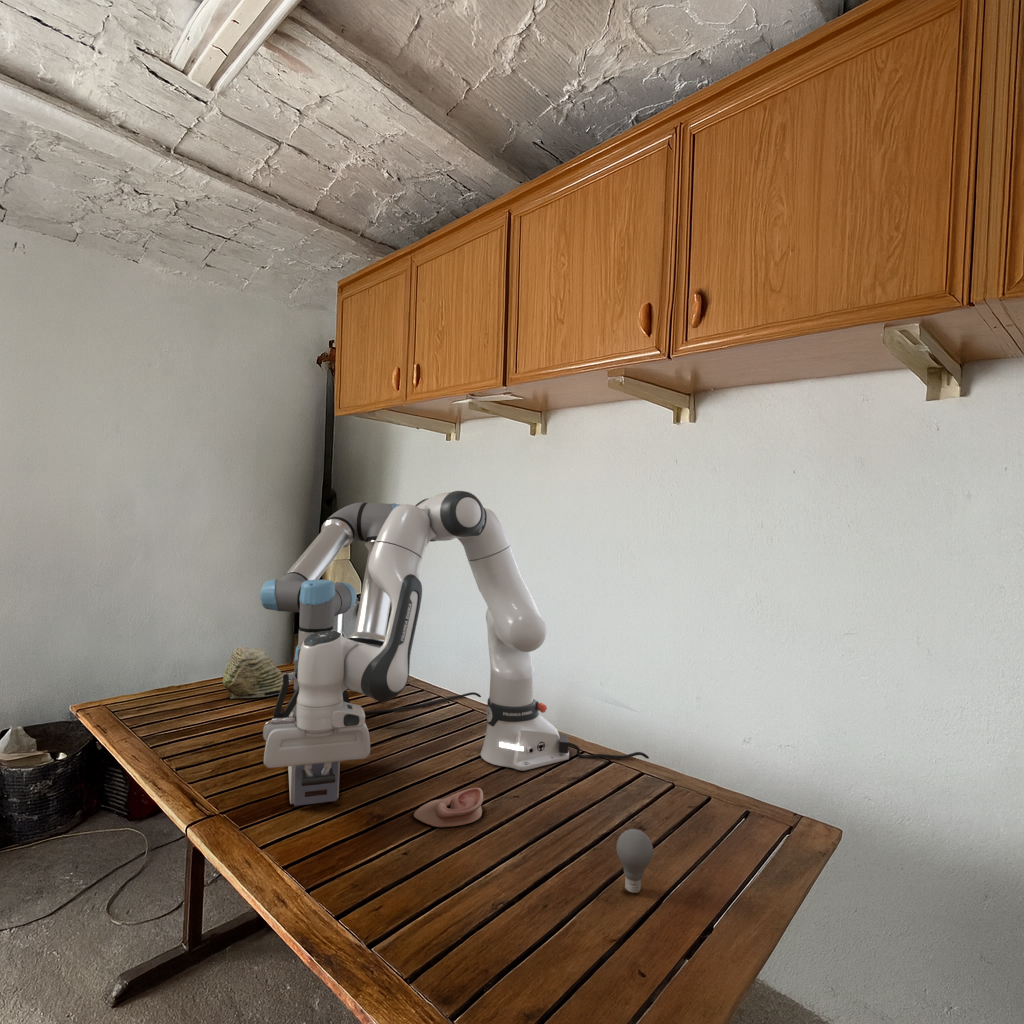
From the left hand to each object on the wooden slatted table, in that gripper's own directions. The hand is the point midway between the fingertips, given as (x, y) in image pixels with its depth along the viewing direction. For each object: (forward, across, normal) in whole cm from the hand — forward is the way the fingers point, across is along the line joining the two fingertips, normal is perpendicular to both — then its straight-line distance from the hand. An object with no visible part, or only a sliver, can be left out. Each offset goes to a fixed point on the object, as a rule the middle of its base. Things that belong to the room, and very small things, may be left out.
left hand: (311, 744), depth 145 cm
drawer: (+5, 0, -12) cm, 13 cm away
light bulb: (+6, +48, -61) cm, 78 cm away
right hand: (0, 0, -21) cm, 21 cm away
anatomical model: (+6, +25, -28) cm, 38 cm away
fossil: (+6, -14, +61) cm, 63 cm away
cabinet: (+6, 0, -6) cm, 8 cm away
